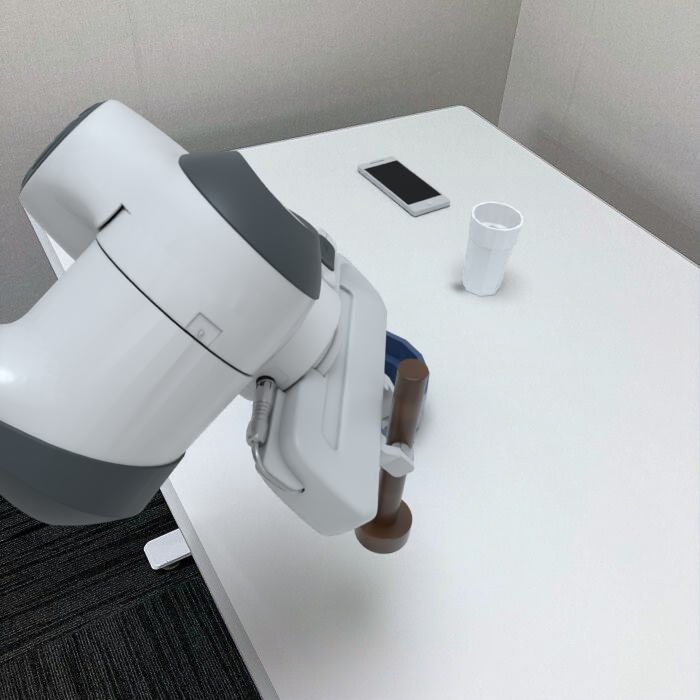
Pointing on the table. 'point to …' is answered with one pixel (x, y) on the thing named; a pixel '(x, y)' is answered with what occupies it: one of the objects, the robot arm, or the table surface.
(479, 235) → the cup
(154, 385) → the robot arm
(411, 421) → the stick
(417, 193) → the smartphone
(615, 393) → the table surface
